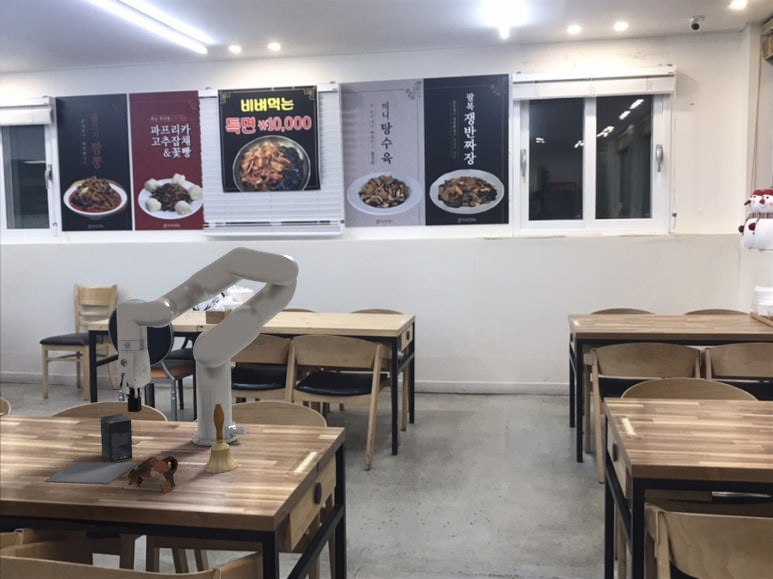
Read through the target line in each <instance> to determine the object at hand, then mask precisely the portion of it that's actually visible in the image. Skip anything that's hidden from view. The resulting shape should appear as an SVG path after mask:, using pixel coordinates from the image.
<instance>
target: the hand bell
mask: <svg viewBox="0 0 773 579" xmlns="http://www.w3.org/2000/svg"><path fill="white" fill-rule="evenodd" d="M213 419H214V424H215V427H216V437H217V438H216V440H217V443H216V444H215V445H213V446H211V447H210V454H209V459H208V460H207V462H206V463H205V465H203V466H204V467H203V470H204V471H205V472H206V473H210V474H222V473H223V474H224V473H228V472H231V471H234V470H236V469H237V468H238V466H239V464H238V462H237V461H236V460H235V459H234V458H233V456H232V453H231V448H230V445H229V443H227V444H226V443H224V440H223V424H224V412H223V409H222V407H221V404H216V405H215V410H214V414H213Z"/></svg>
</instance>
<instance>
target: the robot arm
mask: <svg viewBox="0 0 773 579" xmlns="http://www.w3.org/2000/svg"><path fill="white" fill-rule="evenodd" d="M298 276H299V264H298V263H297V261H296V260H295V259H294V258H293V257H292V256H290V255H286V254H281V253H275V252H270V251H269V252H268V251H263V250H258V249H253V248H250V247H244V246H239V247H234V248H233V249H232V250H229V252H227V253H225V254H224V255H222V256H220V257H218V258H217V259H215V260H214V261H213V262H211V263H209V264H208V265H206V266H204V267H203V268H201V269H199V270H198V271H196V272H195V273H193V274H192V275H191V276H190V277H188V279H187V280H185V281H184V282H182V283H181V284H180V285H178V286H176V287H175V288H173V289H171V290H170V291H168V292H167V293H165V294H164V295H162V296H160V297H159V298H156V299H155V300H150V301H143V300H137V299H135V300H133V299H132V300H122V301H119V302H118V303H117V304H116V325H117V326H116V330H117V335H116V336H117V353H118V358H117V359H118V360H117V385H118V387H119V388H120V389H121V394H122V395H125V396H126V397H125V398H126V399H127V400H126V401H127V413H140V412H141V411H142V409H143V408H142V406H143V405H142V397H143V389H144V387H146V385H148V384H149V383H150V382H151V381H152V374H151V373H152V372H151V361H150V354H149V350H148V332H147V331H148V327H150V328H151V327H152V328H164V327H167V326H168V325H170V324H171V323H172V322H173V321H175V320H176V319H177V318H180V316H182V315H183V314H185V313H187V312H188V311H190V310H192V309H193V308H195V307H197V306H198V305H200V304H202V303H205V302H207V301H210V300H212V299H214V298H215V297H217V296H219V295H220V294H222V293H223V292H225V291H226V290H228V289H229V288H231V287H233V286H234V285H236V284H237V283H239V282H240V281H242V280H248V281H252V282H258V283H265V285H264V286H263V287H262V288H261V289H259V291H257V292H256V293H255V294H254V295H253V296H251V297H250V298H249V299H248V300H246V301H244V302H243V303H242V304H240V305H239V306H237V307H235V308H233V309H232V310H231V311H230V312H229V314H228V315H227V316H226V317H225V318H223V319H222V320H221V321H220V322H219V323H217V324H216V325H214V326H213V327H212V328H209V329H205V330H203V331H202V332H201V333H200V334H199V335H198V336H197V337H196V339H195V342H194V345H193V348H192V353H193V358H194V360H195V381H196V382H195V384H196V386H195V387H196V389H195V390H196V414H197V416H196V417H197V418H196V420H197V421H196V422H197V423H196V424H197V426H196V427H197V432H196V433H195V434H193V436H192V437H191V442H192V443H193V444H195V445H199V446H206V447H207V446H209V447H210V446H211V447H212V446H213V445H215V444H216V443H217V440H216V438H217V437H216V427H215V424H214V419H213V414H214V410H215V405H216V404H221V407H222V409H223V412H224V424H223V440H224V443H226V444H230V443H233V442H235V441H237V440H238V438H239V436H245V435H246V434H247V428H246V427H245V426H238V425H236V421H233V416H232V415H233V412H232V408H233V407H232V366H231V365H232V364H231V363H232V361H231V359H233V357H235V356H236V355H237V354H239V353H240V352H241V351H242V350H243V349H245V348H246V347H247V346H249V345H250V344H251V343H252V342H254V340H256V338H258V336H259V335H260V334H261V330H262V328H263V327H264V326H265V325H267V323H269V322H270V321H271V320H273V319H274V318H276V316H277V315H278V314H280V313H281V312H282V311H284V309H285V308H286V307H287V306H288V305H289V304H290V302H291V301H292V300H293V297H294V296H295V293H296V290H297V289H296V288H297V282H298V278H297V277H298ZM232 441H233V442H232Z"/></svg>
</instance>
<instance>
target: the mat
mask: <svg viewBox="0 0 773 579" xmlns="http://www.w3.org/2000/svg"><path fill="white" fill-rule="evenodd" d="M135 466H138V465H137V463H126V462H124V463H123V462H119V463H118V462H113V463H110V462H95V461H93V462H89V461H88V462H87V461H76V462H74V463H73V464H70V465H69V466H67V467H66V468H64V469H62V470H61V471H59V472H56V473H55V474H53V475H52V476H50V477H48V478H46V479H44V480H43V482H44V483H64V484H65V483H68V484H70V483H71V484H95V485H96V484H101V485H102V484H103V485H104V484H105V485H109V484H111V483H112V482H114V481H116V480H117V479H119V477H121V476H122V475H124V474H125V473H127V472H129V471H131V470H132V469H134V467H135Z"/></svg>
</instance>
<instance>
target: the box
mask: <svg viewBox="0 0 773 579" xmlns="http://www.w3.org/2000/svg"><path fill="white" fill-rule="evenodd" d="M132 428H133V427H132V419H131V418H129V417H128V416H126V415H125V414H122V413H119V414H112V415H107V416H101V417H100V435H101V436H100V437H101V438H100V439H101V457H102V458H104V459H105V460H106V461H108V463H118V462H119V463H120V462H124V461H128V460H132V459H133V440H132V439H133V436H132V435H133V434H132V433H133V432H132Z"/></svg>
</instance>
